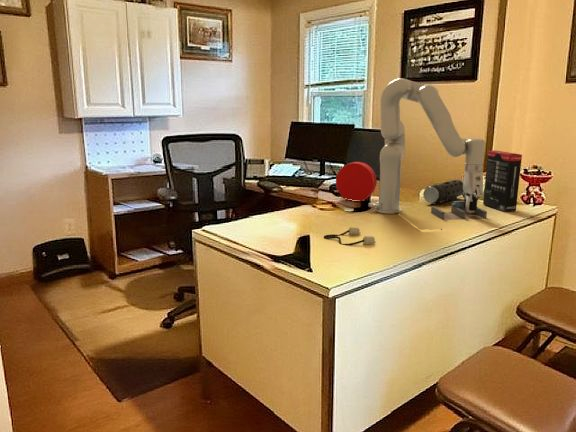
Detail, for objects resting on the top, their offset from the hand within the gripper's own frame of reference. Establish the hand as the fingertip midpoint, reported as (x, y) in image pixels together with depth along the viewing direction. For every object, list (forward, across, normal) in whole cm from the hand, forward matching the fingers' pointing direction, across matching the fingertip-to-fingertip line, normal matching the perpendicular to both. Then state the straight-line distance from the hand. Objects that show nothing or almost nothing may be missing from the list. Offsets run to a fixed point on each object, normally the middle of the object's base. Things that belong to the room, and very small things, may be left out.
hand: (470, 208), depth 210 cm
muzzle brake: (+4, +36, -3) cm, 36 cm away
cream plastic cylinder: (+1, 0, 0) cm, 1 cm away
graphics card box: (+4, +18, -23) cm, 30 cm away
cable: (+5, -30, +60) cm, 67 cm away
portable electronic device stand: (+4, +17, -7) cm, 19 cm away
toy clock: (+4, +41, +42) cm, 59 cm away
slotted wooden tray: (+4, +1, +5) cm, 7 cm away
